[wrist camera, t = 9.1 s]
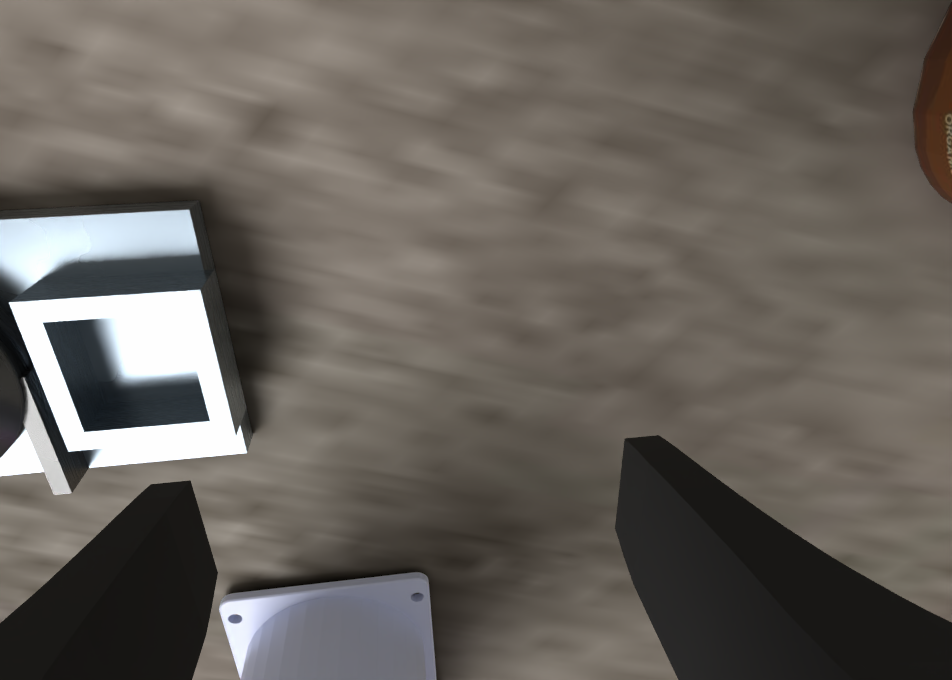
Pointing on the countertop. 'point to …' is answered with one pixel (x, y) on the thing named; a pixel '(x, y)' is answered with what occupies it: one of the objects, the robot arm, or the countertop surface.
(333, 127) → the countertop surface
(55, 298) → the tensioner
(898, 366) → the countertop surface
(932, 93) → the food container
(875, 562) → the countertop surface
